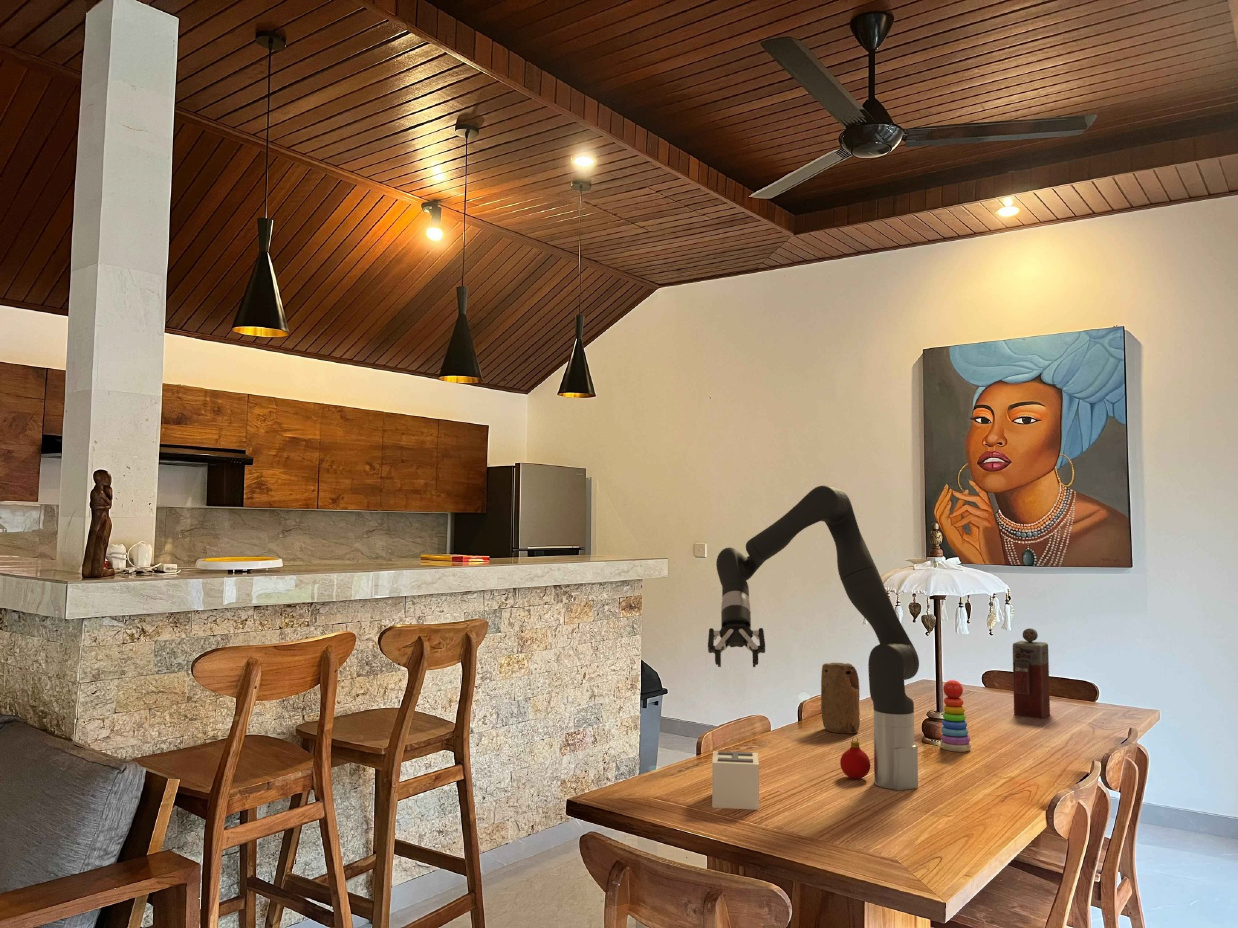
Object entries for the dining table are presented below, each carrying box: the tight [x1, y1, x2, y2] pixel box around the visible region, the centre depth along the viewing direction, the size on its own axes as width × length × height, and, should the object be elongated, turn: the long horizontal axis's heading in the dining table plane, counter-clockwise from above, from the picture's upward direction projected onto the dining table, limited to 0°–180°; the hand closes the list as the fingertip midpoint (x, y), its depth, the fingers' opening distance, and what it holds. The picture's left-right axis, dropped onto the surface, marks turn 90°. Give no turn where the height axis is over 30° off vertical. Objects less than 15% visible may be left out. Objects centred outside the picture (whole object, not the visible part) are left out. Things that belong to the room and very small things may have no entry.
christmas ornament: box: [839, 736, 871, 780], centre depth 217 cm, size 7×7×10 cm
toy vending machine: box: [1012, 627, 1051, 719], centre depth 294 cm, size 9×11×28 cm
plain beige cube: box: [711, 750, 760, 811], centre depth 198 cm, size 10×10×10 cm
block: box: [820, 662, 861, 735], centre depth 268 cm, size 11×8×20 cm
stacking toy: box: [939, 679, 972, 753], centre depth 247 cm, size 8×8×19 cm
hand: (736, 665), depth 220 cm, fingers open, 8 cm apart
